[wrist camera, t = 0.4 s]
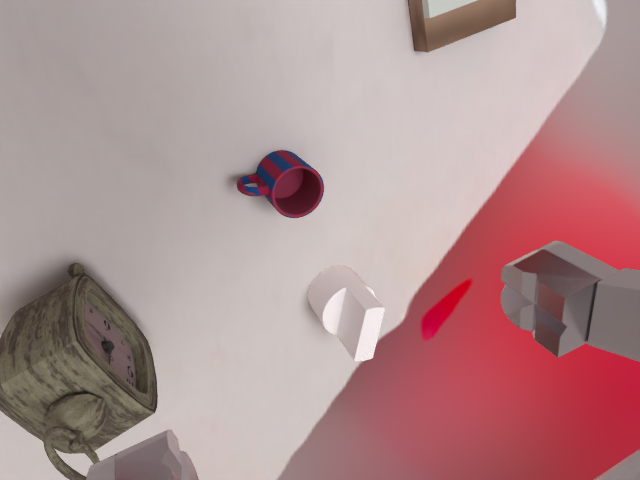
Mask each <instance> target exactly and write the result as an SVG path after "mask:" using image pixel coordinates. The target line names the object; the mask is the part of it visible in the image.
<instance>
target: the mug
mask: <svg viewBox="0 0 640 480" xmlns="http://www.w3.org/2000/svg"><path fill="white" fill-rule="evenodd" d="M250 183H257V185H258V187H247V186H244V185H245V184H250ZM237 188H238V190H239V191H240V192H241V193H243V194H245V195H249V196H263V195H265V197H266V198H267V199H268V200H269V201H270V203H271V204H272V205H273V206H274V207H275V209H276V210H277V211H278V212H279V213H280V214H282V215H284V216H286V217H290V218H299V217H303V216H305V215H307V214H309V213H311V212H312V211H313V210H314V209H315V208H316V207H317V206H318V205H319V203H320V201H321V199H322V196H323V192H324V185H323V181H322V178H321V176H320V174H319V173H318V172H317V171H316V170H315V169H313V168H312V167H311V166H309V165H308V164H307V163H306V162H304V161H303V160H302V159H300V158H299V157H298V156H297V155H295V154H294V153H292V152H289V151H284V150H281V151H275V152H273V153H270V154H269V155H267V156H266V157H265V158H264V159H263V160H262V161H261V163H260V164H259V166H258V169H257V173H256V174H255V175H249V176H244V177H242V178H240V179H238V182H237Z"/></svg>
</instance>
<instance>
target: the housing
mask: <svg viewBox="0 0 640 480" xmlns="http://www.w3.org/2000/svg"><path fill="white" fill-rule="evenodd" d="M408 4H409V12H410V19H411V27H412V34H413V42H414V49H415V51H423V52H430V51H432V50H435V49H437V48H440V47H442V46H445V45H448V44H450V43H453V42H455V41H458V40H460V39H463V38H465V37H468V36H470V35H473V34H475V33H478V32H481V31H483V30H486V29H488V28H491V27H493V26H496V25H498V24H501V23H503V22H506V21H509V20H511V19H514V18H516V0H477V1H475V2H472V3H469V4H467V5H464V6H461V7H459V8H456V9H453V10H451V11H448V12H445V13H443V14H440V15H437V16H435V17H432V18H424V13H423V5H422V0H408Z"/></svg>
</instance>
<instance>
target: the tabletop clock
mask: <svg viewBox="0 0 640 480" xmlns="http://www.w3.org/2000/svg"><path fill="white" fill-rule="evenodd" d="M83 271H84V269H83V267H82V266H81V265H80V264H74V265H71V266H70V267H69V270H68V273H69V275H70V276H72V277H73V278H72V280H70V281H69V282H67V283H65V284H63V285H62V286H60V287H58V288H56V289H55V290H53V291H51V292H49V293H48V294H46V295H44V296H42V297H40V298H39V299H37V300H35V301H33V302H32V303H30V304H28V305H26V306H25V307H23V308H21V309H19V310H18V311H16V313H15V314H14V315H13V317H12V318H11V320H10V321H9V323H8V325H7V327H6V328H5V330H4V332H3V334H2V336H1V338H0V411H2V412H3V413H4V414H5V415H7V416H8V417H9V418H11V419H12V420H13V421H15V422H16V423H17V424H19V425H20V426H21V427H23V428H24V429H25V430H27V431H28V432H29V433H31V434H32V435H34V436H35V437H37V438H39V439H40V440H42V441H43V442H44V448H45V451H46V453H47V455H48V458H49V460H50V461H51V462H52V464H53V465H54V466H55V468H56V469H57V470H58V471H59V472H60V473H62V474H63V475H64V476H65V477H67V478H68V479H70V480H87V477H85V476H83V475H81V474H80V473H78V472H77V471H75V470H74V469H72V468H71V467H70V466H68V465H67V464H66V463H65V462H64V461H63V460H62V459H61V458H60V457H59V456H58V454H57V453H56V451H55V449H57V450H58V451H61V452H63V453H70V454H72V453H85V454H86V455H87V456H88V457H89V458H90V459H91V461H92V462H93V464H95V463H98V462H100V461H99V458H98V456H97V454H96V453H95V450H96V449H98V448H100V447H101V446H103V445H104V444H106V443H107V442H109V441H111V440H112V439H114V438H115V437H117V436H119V435H120V434H122V433H123V432H125V431H127V430H128V429H130V428H131V427H133V426H135V425H136V424H138V423H139V422H141V421H143V420H144V419H146V418H147V417H149V416H150V415H152V414H154V413H155V411H156V408H157V397H158V396H157V380H156V373H155V367H154V361H153V357H152V353H151V349H150V346H149V344H148V341H147V339H146V338H145V336H144V335H143V333H142V332H141V331H140V329H139V328H138V327H137V325H136V324H135V323H134V322H133V321H132V320H131V319H130V317H129V316H128V315H127V314H126V313H125V312H124V311H123V309H122V308H121V307H120V306H119V305H118V304H117V303H116V302H115V301H114V300H113V299H112V298H111V297H110V296H109V295H108V294H107V293H106V292H105V291H104V290H103V289H102V288H101V287H100V286H99V285H98V284H97V283H96V282H95V281H94V280H93V279H92V278H90V277H89V276H88V275H86V274H85V273H83ZM54 448H55V449H54Z"/></svg>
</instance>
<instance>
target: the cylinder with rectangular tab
mask: <svg viewBox="0 0 640 480" xmlns="http://www.w3.org/2000/svg"><path fill="white" fill-rule="evenodd" d="M308 301H309V304H310V306H311V307H312V309H313V310H314V312H315V313H316V315H317V316H318V318H319V319H320V321H321V322H322V324H323V325H324V326H325V328H326V329H327V331H329V332H330V333H332V334H335V335H337V337H338V338H339V339H340V341H341V342H342V344H343V345H344V347H345V348H346V350H347V351H348V352H349V354H350V355H351V357H352V358H353V360H354V361H365V360H368V359H371V358H373V354H374V350H375V346H376V343H377V339H378V335H379V331H380V327H381V323H382V319H383V315H384V311H385V307H384V306H383V305H382V304H381V303H380V302H379V301H378V300H377V299H376V296H375V294H374V292H373V290H372V289H371V288H370V287H369V286H368V285H367V284H366V283H365V282H364V281H363V280H362V279H361V278H360V277H359V276H358V274H357V273H356V272H355V271H354V270H352V269H351V268H350V267H347V266H343V265H337V266H331V267H329V268H327V269H325V270H323V271H322V272H320V273H319V274H318V275H317V276H316V277H315V278H314V279H313V281H312V283H311V284H310V286H309V290H308Z"/></svg>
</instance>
